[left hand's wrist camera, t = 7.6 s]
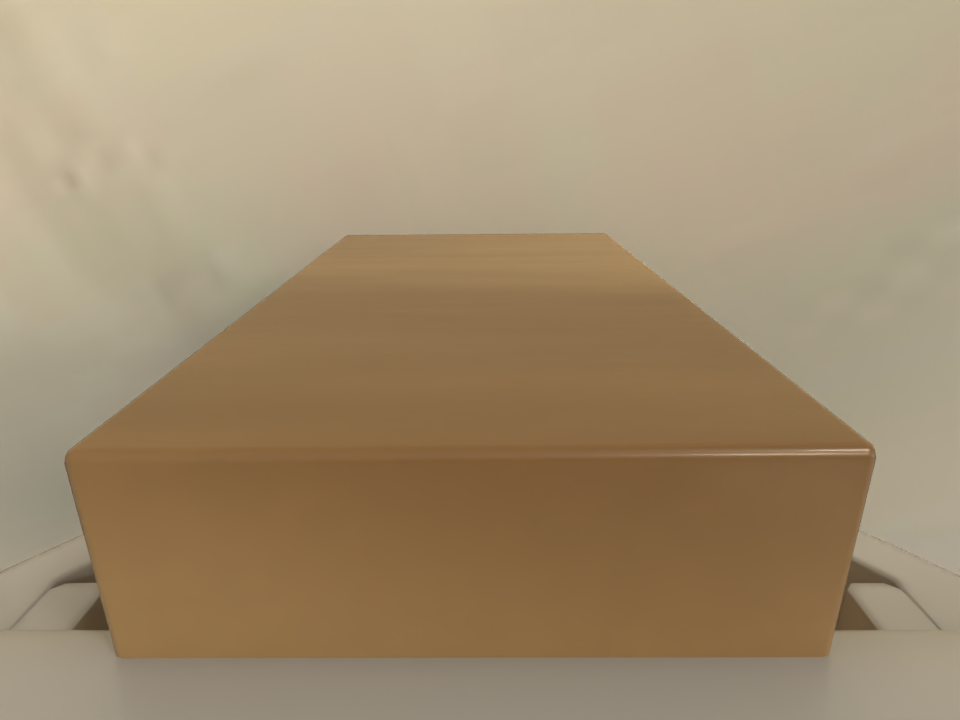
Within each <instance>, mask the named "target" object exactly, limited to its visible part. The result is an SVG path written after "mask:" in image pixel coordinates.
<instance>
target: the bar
mask: <svg viewBox="0 0 960 720" xmlns="http://www.w3.org/2000/svg"><path fill="white" fill-rule="evenodd" d="M875 460H876V454H875V449H874V447H873V445H872V444H871V443H870V442H868V441H867V440H866V439H864V438H863V437H862V436H861V435H859V434H858V433H857V432H856V431H854V430H853V429H852V428H851V427H849V426H848V425H847V424H845V423H844V422H843V421H842V420H840V419H839V418H838V417H837V416H835V415H834V414H833V413H832V412H830V411H829V410H828V409H826V408H825V407H824V406H823V405H821V404H820V403H819V402H818V401H816V400H815V399H814V398H813V397H811V396H810V395H809V394H807V393H806V392H805V391H804V390H802V389H801V388H800V387H799V386H797V385H796V384H795V383H794V382H792V381H791V380H790V379H788V378H787V377H786V376H785V375H783V374H782V373H781V372H780V371H778V370H777V369H776V368H775V367H773V366H772V365H771V364H769V363H768V362H767V361H766V360H764V359H763V358H762V357H761V356H759V355H758V354H757V353H756V352H754V351H753V350H752V349H750V348H749V347H748V346H747V345H745V344H744V343H743V342H742V341H740V340H739V339H738V338H736V337H735V336H734V335H733V334H731V333H730V332H729V331H728V330H726V329H725V328H724V327H723V326H721V325H720V324H719V323H717V322H716V321H715V320H714V319H712V318H711V317H710V316H709V315H707V314H706V313H705V312H704V311H702V310H701V309H700V308H698V307H697V306H696V305H695V304H693V303H692V302H691V301H690V300H688V299H687V298H686V297H685V296H683V295H682V294H681V293H679V292H678V291H677V290H676V289H674V288H673V287H672V286H671V285H669V284H668V283H667V282H666V281H664V280H663V279H662V278H660V277H659V276H658V275H657V274H655V273H654V272H653V271H652V270H650V269H649V268H648V267H647V266H645V265H644V264H643V263H641V262H640V261H639V260H638V259H636V258H635V257H634V256H633V255H631V254H630V253H629V252H628V251H626V250H625V249H624V248H622V247H621V246H620V245H619V244H617V243H616V242H615V241H614V240H612V239H611V238H610V237H609V236H607V235H606V234H603V233H586V234H452V235H348V236H345V237H344V238H343V239H341V240H340V241H339V242H338V243H336V244H335V245H334V246H332V247H331V248H330V249H329V250H327V251H326V252H325V253H323V254H322V255H321V256H320V257H318V258H317V259H316V260H314V261H313V262H312V263H310V264H309V265H308V266H307V267H305V268H304V269H303V270H301V271H300V272H299V273H298V274H296V275H295V276H294V277H292V278H291V279H290V280H288V281H287V282H286V283H285V284H283V285H282V286H281V287H279V288H278V289H277V290H276V291H274V292H273V293H272V294H270V295H269V296H268V297H266V298H265V299H264V300H263V301H261V302H260V303H259V304H257V305H256V306H255V307H254V308H252V309H251V310H250V311H248V312H247V313H246V314H244V315H243V316H242V317H241V318H239V319H238V320H237V321H235V322H234V323H233V324H232V325H230V326H229V327H228V328H226V329H225V330H224V331H222V332H221V333H220V334H219V335H217V336H216V337H215V338H213V339H212V340H211V341H210V342H208V343H207V344H206V345H204V346H203V347H202V348H200V349H199V350H198V351H197V352H195V353H194V354H193V355H191V356H190V357H189V358H188V359H186V360H185V361H184V362H182V363H181V364H180V365H178V366H177V367H176V368H175V369H173V370H172V371H171V372H169V373H168V374H167V375H166V376H164V377H163V378H162V379H160V380H159V381H158V382H157V383H155V384H154V385H153V386H151V387H150V388H149V389H147V390H146V391H145V392H144V393H142V394H141V395H140V396H138V397H137V398H136V399H135V400H133V401H132V402H131V403H129V404H128V405H127V406H125V407H124V408H123V409H122V410H120V411H119V412H118V413H116V414H115V415H114V416H113V417H111V418H110V419H109V420H107V421H106V422H105V423H103V424H102V425H101V426H100V427H98V428H97V429H96V430H94V431H93V432H92V433H91V434H89V435H88V436H87V437H85V438H84V439H83V440H81V441H80V442H79V443H78V444H76V445H75V446H74V447H72V448H71V449H70V450H69V451H68V452H67V454H66V457H65V467H66V471H67V474H68V478H69V482H70V486H71V489H72V493H73V497H74V501H75V504H76V508H77V512H78V515H79V519H80V523H81V527H82V530H83V534H84V538H85V542H86V545H87V549H88V553H89V556H90V560H91V564H92V568H93V571H94V575H95V579H96V583H97V586H98V590H99V594H100V597H101V601H102V605H103V609H104V612H105V616H106V620H107V624H108V627H109V631H110V635H111V639H112V642H113V646H114V650H115V653H116V656H117V657H120V658H619V657H824V656H827V655H829V652H830V648H831V644H832V639H833V635H834V631H835V627H836V623H837V619H838V614H839V610H840V606H841V602H842V598H843V593H844V589H845V585H846V581H847V577H848V573H849V568H850V564H851V560H852V556H853V552H854V547H855V543H856V539H857V535H858V531H859V527H860V522H861V518H862V514H863V510H864V506H865V502H866V497H867V493H868V489H869V485H870V481H871V476H872V472H873V468H874V464H875Z"/></svg>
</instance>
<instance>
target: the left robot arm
mask: <svg viewBox="0 0 960 720" xmlns="http://www.w3.org/2000/svg"><path fill="white" fill-rule="evenodd" d="M0 720H960V576H958V575H956V574H954V573H952V572H950V571H948V570H945V569H943V568H941V567H939V566H937V565H934V564H932V563H930V562H928V561H926V560H923V559H921V558H919V557H917V556H915V555H912V554H910V553H908V552H906V551H904V550H901V549H899V548H897V547H895V546H893V545H890V544H888V543H886V542H884V541H882V540H879V539H877V538H875V537H873V536H871V535H868V534H866V533H864V532H862V531H860V530H859V531H858V535H857V539H856V543H855V547H854V552H853V556H852V560H851V564H850V568H849V573H848V577H847V581H846V585H845V589H844V593H843V598H842V602H841V606H840V610H839V614H838V619H837V623H836V627H835V631H834V635H833V639H832V644H831V648H830V652H829V655H827V656H824V657H619V658H120V657H117V656H116V653H115V650H114V646H113V642H112V639H111V635H110V631H109V627H108V624H107V620H106V616H105V612H104V609H103V605H102V601H101V597H100V594H99V590H98V586H97V583H96V579H95V575H94V571H93V568H92V564H91V560H90V556H89V553H88V549H87V545H86V542H85V538H84V534H83V535H81V536H79V537H77V538H74V539H72V540H70V541H68V542H66V543H63V544H61V545H59V546H57V547H54V548H52V549H50V550H48V551H46V552H43V553H41V554H39V555H37V556H34V557H32V558H30V559H28V560H26V561H23V562H21V563H19V564H17V565H14V566H12V567H10V568H8V569H6V570H3V571H1V572H0Z"/></svg>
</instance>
